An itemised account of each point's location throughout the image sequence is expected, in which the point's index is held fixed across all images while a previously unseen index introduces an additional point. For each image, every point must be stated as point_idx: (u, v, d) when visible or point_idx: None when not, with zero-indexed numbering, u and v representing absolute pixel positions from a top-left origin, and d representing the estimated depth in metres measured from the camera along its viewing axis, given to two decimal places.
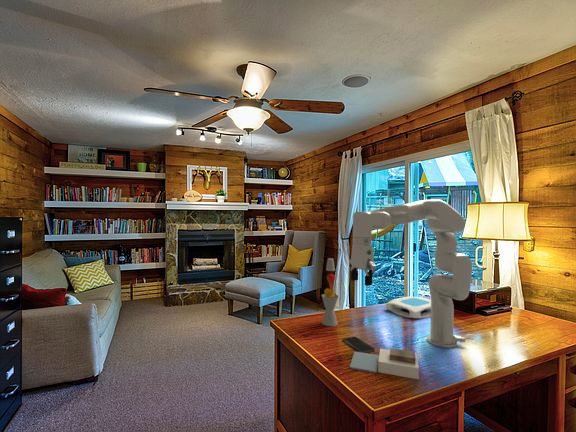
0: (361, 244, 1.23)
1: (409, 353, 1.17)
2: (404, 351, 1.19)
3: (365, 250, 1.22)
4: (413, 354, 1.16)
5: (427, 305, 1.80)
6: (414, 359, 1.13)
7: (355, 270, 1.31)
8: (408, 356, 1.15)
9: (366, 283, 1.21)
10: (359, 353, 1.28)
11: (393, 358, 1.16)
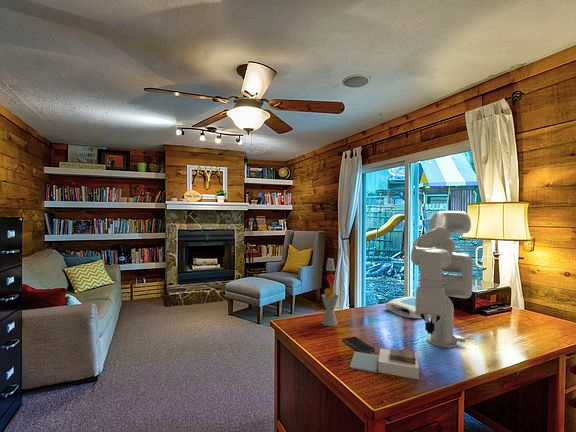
0: (440, 287, 1.11)
1: (409, 353, 1.17)
2: (404, 351, 1.19)
3: (444, 294, 1.11)
4: (413, 354, 1.16)
5: None
6: (414, 359, 1.13)
7: None
8: (408, 356, 1.15)
9: (432, 331, 1.12)
10: (359, 353, 1.28)
11: (393, 358, 1.16)
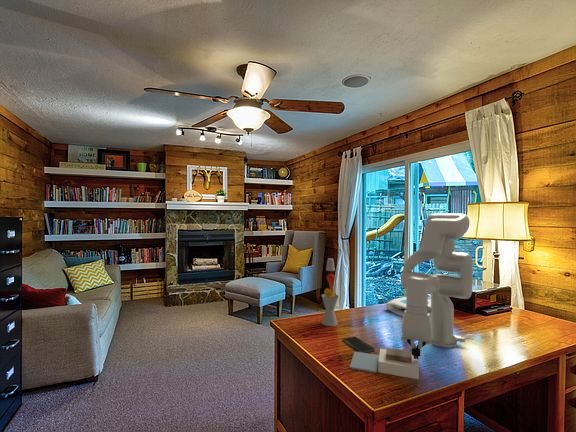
0: (425, 314, 1.12)
1: (405, 352, 1.17)
2: (400, 351, 1.19)
3: (429, 320, 1.13)
4: (409, 353, 1.17)
5: None
6: (410, 358, 1.13)
7: None
8: (404, 355, 1.15)
9: (418, 356, 1.14)
10: (359, 353, 1.28)
11: (389, 357, 1.16)
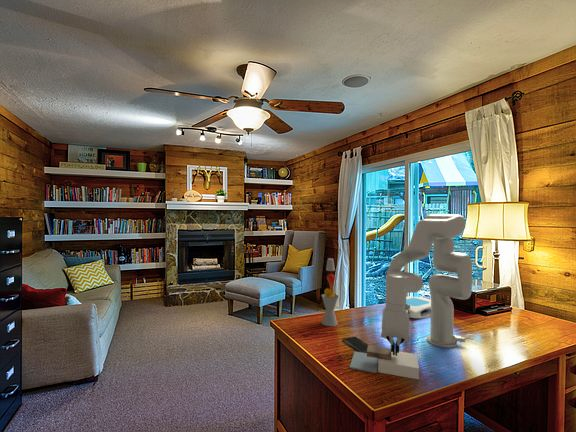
0: (404, 311, 1.15)
1: (386, 350, 1.20)
2: (381, 348, 1.21)
3: (408, 317, 1.15)
4: (389, 351, 1.19)
5: (427, 305, 1.80)
6: (390, 356, 1.16)
7: None
8: (384, 353, 1.17)
9: None
10: (359, 353, 1.28)
11: (370, 355, 1.18)
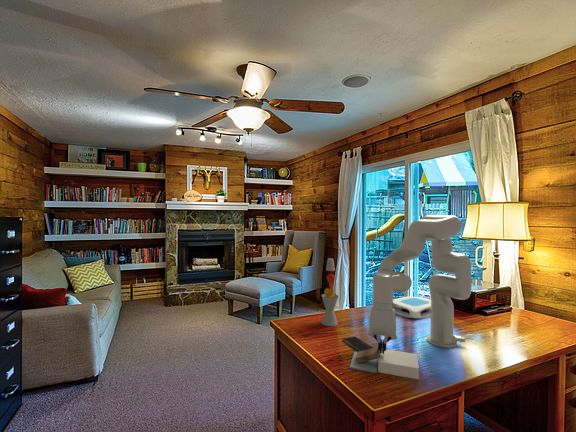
0: (390, 310, 1.17)
1: (373, 350, 1.21)
2: (369, 350, 1.23)
3: (394, 316, 1.17)
4: (376, 349, 1.21)
5: (427, 305, 1.80)
6: (377, 353, 1.17)
7: None
8: (371, 353, 1.19)
9: None
10: None
11: (359, 360, 1.20)
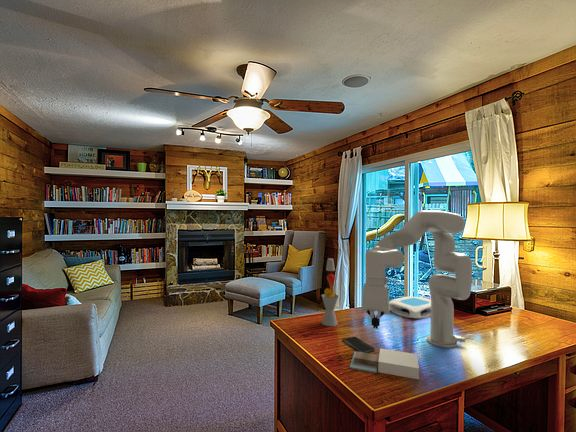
0: (382, 285, 1.18)
1: (373, 356, 1.21)
2: (369, 354, 1.23)
3: (387, 291, 1.18)
4: (377, 357, 1.21)
5: (427, 305, 1.80)
6: (377, 362, 1.17)
7: None
8: (371, 359, 1.19)
9: (377, 326, 1.20)
10: None
11: (357, 361, 1.20)
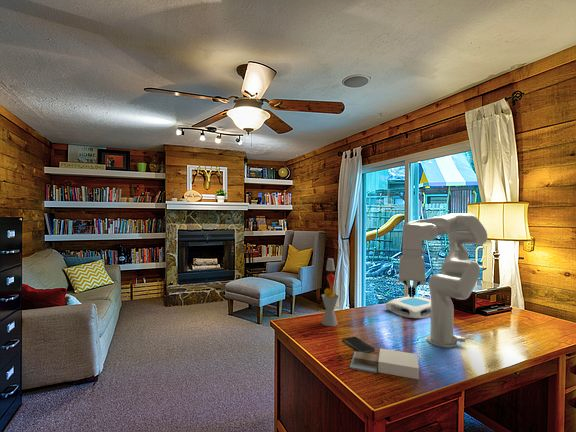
0: (419, 256, 1.25)
1: (373, 356, 1.21)
2: (369, 354, 1.23)
3: (423, 261, 1.25)
4: (377, 357, 1.21)
5: (427, 305, 1.80)
6: (377, 362, 1.17)
7: None
8: (371, 359, 1.19)
9: (413, 295, 1.27)
10: None
11: (357, 361, 1.20)
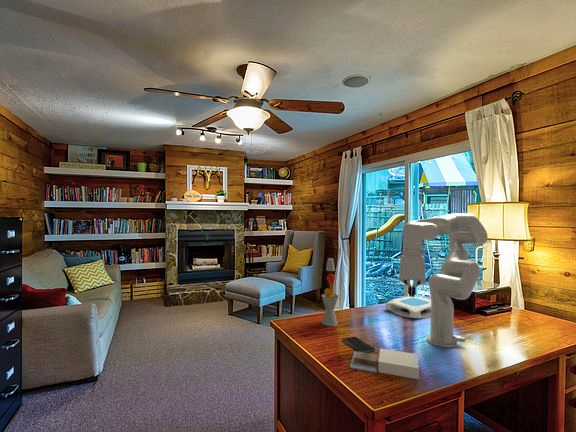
0: (420, 255, 1.25)
1: (373, 356, 1.21)
2: (369, 354, 1.23)
3: (424, 261, 1.25)
4: (377, 357, 1.21)
5: (427, 305, 1.80)
6: (377, 362, 1.17)
7: None
8: (371, 359, 1.19)
9: (413, 294, 1.27)
10: None
11: (357, 361, 1.20)
